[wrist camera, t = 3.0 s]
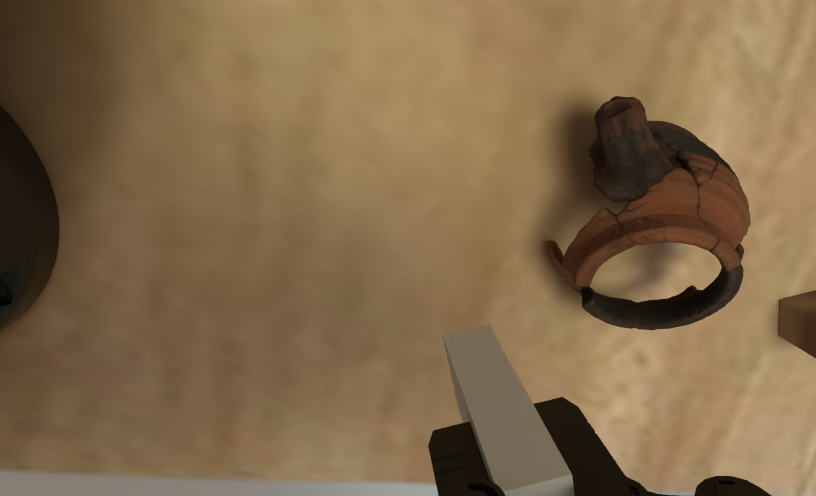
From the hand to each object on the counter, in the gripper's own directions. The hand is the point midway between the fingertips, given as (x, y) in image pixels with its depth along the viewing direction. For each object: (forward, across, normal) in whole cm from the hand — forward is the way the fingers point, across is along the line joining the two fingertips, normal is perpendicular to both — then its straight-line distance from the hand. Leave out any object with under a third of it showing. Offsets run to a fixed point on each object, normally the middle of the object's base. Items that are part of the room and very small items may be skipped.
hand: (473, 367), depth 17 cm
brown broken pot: (+13, +11, 0) cm, 17 cm away
